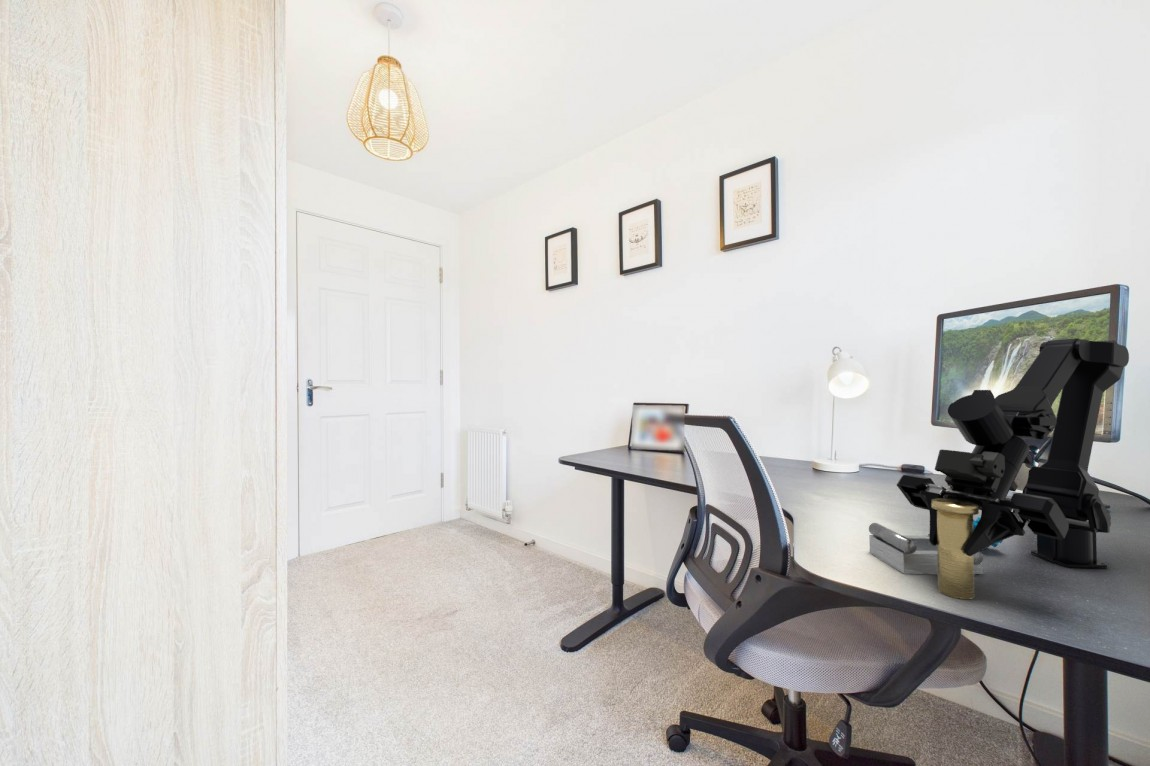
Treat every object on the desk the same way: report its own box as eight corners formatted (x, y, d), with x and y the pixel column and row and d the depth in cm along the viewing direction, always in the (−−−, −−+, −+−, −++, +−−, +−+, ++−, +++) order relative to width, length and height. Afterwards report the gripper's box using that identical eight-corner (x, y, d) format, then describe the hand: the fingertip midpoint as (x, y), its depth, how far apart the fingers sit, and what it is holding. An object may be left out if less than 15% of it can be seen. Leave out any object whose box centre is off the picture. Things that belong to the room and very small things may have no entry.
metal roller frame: (940, 553, 79) (939, 523, 79) (983, 575, 70) (982, 540, 70) (869, 552, 80) (868, 522, 80) (903, 573, 71) (902, 539, 71)
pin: (960, 585, 67) (958, 498, 67) (990, 602, 62) (988, 507, 62) (923, 584, 67) (922, 498, 67) (951, 601, 62) (949, 507, 62)
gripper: (903, 425, 75) (858, 498, 71) (1055, 436, 57) (1008, 533, 53) (933, 469, 78) (892, 541, 73) (1087, 492, 60) (1045, 588, 56)
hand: (949, 548), depth 64 cm, fingers closed on pin, 4 cm apart
